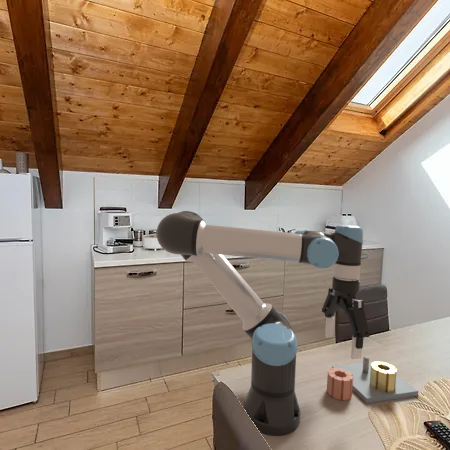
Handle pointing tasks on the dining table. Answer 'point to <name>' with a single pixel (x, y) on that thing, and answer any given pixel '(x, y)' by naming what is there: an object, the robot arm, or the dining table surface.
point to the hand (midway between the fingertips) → (341, 346)
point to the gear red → (339, 383)
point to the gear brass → (383, 377)
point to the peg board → (367, 391)
